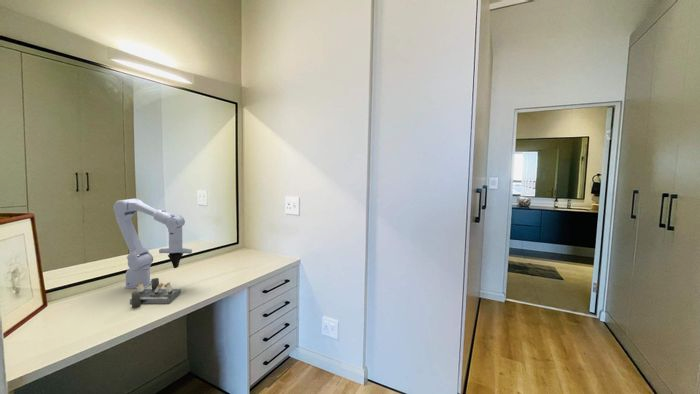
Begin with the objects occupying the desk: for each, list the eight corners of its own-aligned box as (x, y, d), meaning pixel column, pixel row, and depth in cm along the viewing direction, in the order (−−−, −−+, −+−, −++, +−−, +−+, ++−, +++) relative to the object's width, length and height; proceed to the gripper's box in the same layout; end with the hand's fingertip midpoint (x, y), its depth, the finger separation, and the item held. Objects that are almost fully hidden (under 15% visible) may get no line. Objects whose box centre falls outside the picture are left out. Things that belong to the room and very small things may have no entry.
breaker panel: (130, 303, 126) (129, 298, 126) (145, 293, 137) (144, 287, 137) (168, 303, 128) (168, 298, 128) (180, 293, 139) (180, 287, 138)
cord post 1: (130, 307, 123) (129, 294, 122) (134, 304, 126) (134, 291, 125) (137, 307, 123) (137, 294, 123) (142, 304, 126) (141, 291, 125)
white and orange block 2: (152, 293, 131) (158, 285, 130) (156, 290, 133) (161, 282, 133) (155, 294, 131) (160, 286, 131) (158, 291, 134) (163, 284, 133)
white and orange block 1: (139, 294, 130) (135, 285, 129) (143, 291, 133) (139, 283, 132) (142, 293, 130) (138, 284, 129) (145, 290, 133) (141, 282, 132)
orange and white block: (167, 294, 131) (163, 285, 131) (170, 291, 134) (167, 283, 134) (170, 293, 131) (166, 284, 131) (173, 290, 134) (169, 282, 134)
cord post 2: (150, 292, 138) (149, 280, 137) (154, 289, 141) (153, 278, 140) (156, 292, 138) (156, 280, 137) (160, 289, 141) (160, 278, 140)
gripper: (155, 242, 137) (155, 270, 139) (187, 243, 139) (187, 270, 140) (163, 238, 144) (163, 265, 146) (193, 239, 146) (193, 265, 147)
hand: (176, 267), depth 143 cm, fingers closed
